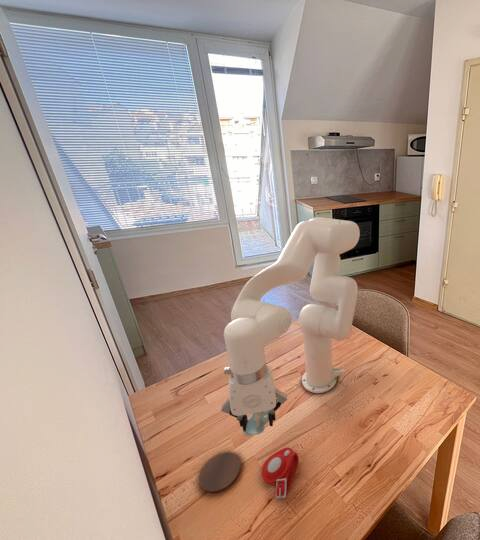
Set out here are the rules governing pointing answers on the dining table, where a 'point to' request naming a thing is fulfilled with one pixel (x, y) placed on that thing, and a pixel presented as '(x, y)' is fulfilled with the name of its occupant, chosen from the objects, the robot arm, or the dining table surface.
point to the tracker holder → (281, 470)
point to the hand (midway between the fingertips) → (258, 423)
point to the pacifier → (256, 423)
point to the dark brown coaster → (220, 472)
